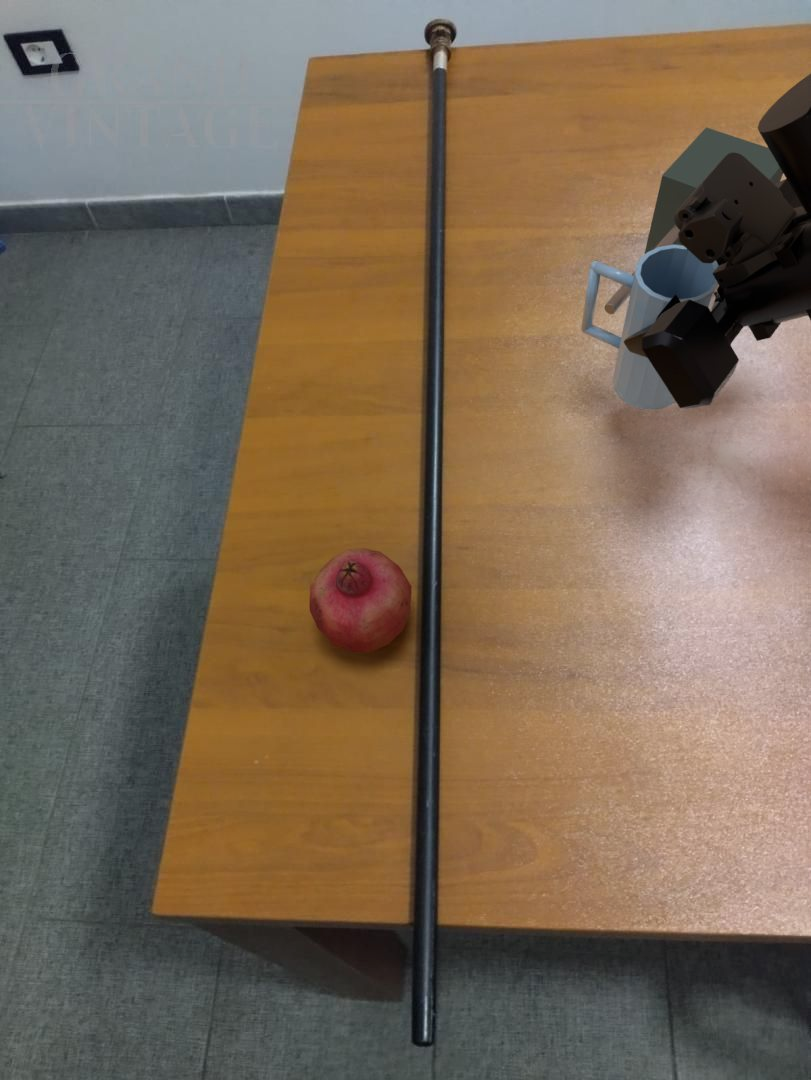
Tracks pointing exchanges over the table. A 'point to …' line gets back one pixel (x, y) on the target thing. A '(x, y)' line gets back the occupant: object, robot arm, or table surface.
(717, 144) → the box
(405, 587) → the fruit
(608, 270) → the blue mug
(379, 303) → the table surface
